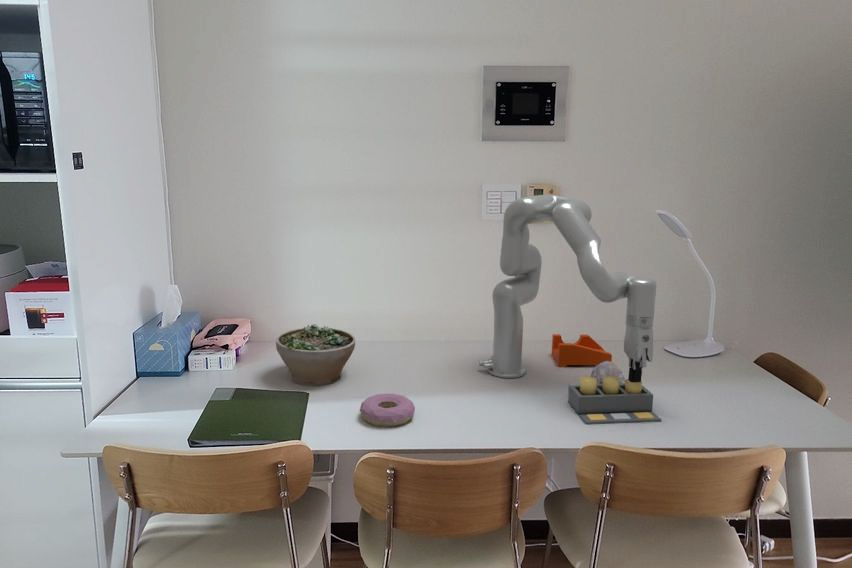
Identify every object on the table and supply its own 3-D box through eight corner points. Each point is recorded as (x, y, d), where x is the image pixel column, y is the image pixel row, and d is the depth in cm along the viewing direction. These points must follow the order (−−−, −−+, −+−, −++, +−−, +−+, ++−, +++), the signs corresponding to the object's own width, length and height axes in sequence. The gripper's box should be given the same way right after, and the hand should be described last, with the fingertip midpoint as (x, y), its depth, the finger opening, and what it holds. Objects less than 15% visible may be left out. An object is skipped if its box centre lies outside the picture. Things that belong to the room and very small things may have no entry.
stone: (611, 412, 208) (636, 391, 206) (589, 389, 207) (615, 369, 205) (603, 391, 224) (626, 372, 222) (583, 370, 223) (606, 351, 221)
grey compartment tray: (578, 415, 191) (579, 397, 190) (567, 402, 200) (569, 385, 198) (651, 412, 193) (653, 394, 192) (638, 400, 202) (639, 383, 201)
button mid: (605, 397, 193) (606, 381, 192) (599, 391, 198) (600, 375, 196) (620, 397, 194) (622, 380, 193) (614, 391, 198) (616, 375, 197)
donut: (355, 409, 193) (355, 393, 192) (407, 404, 197) (407, 388, 196) (366, 432, 178) (366, 415, 177) (421, 426, 183) (421, 409, 182)
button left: (582, 398, 192) (583, 381, 191) (577, 392, 197) (578, 376, 196) (597, 397, 193) (599, 381, 192) (592, 391, 197) (593, 375, 196)
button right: (628, 400, 194) (629, 384, 193) (621, 394, 199) (623, 378, 197) (643, 399, 195) (644, 383, 194) (636, 393, 199) (638, 378, 198)
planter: (306, 359, 234) (305, 318, 230) (369, 371, 223) (369, 328, 220) (259, 383, 211) (257, 338, 208) (327, 397, 201) (326, 350, 197)
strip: (585, 424, 185) (585, 421, 185) (579, 416, 190) (579, 413, 190) (661, 421, 188) (661, 418, 187) (653, 414, 192) (653, 411, 192)
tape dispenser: (558, 368, 230) (559, 345, 228) (551, 356, 242) (552, 334, 241) (610, 368, 230) (612, 345, 228) (600, 356, 243) (602, 334, 241)
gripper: (664, 327, 185) (658, 390, 189) (640, 313, 199) (636, 372, 203) (638, 328, 184) (633, 391, 188) (616, 314, 198) (612, 372, 202)
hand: (634, 381), depth 195 cm, fingers closed
